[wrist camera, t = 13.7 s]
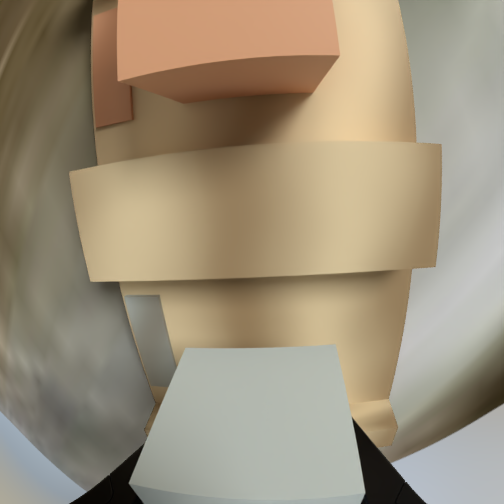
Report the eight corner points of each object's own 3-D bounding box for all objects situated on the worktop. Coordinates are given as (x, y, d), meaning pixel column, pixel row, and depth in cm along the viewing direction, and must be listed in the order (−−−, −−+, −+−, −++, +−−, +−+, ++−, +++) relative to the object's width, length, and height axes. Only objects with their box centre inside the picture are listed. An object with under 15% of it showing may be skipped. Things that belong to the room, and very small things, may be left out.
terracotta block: (313, 92, 10) (340, 55, 5) (183, 103, 10) (117, 81, 6) (300, -16, 8) (310, -96, 4) (178, -3, 9) (124, -68, 4)
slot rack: (373, -55, 8) (391, -89, 5) (379, 405, 15) (391, 445, 12) (106, -25, 9) (73, -49, 6) (167, 409, 17) (152, 447, 14)
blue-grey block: (326, 436, 10) (335, 552, 6) (208, 437, 11) (182, 547, 6) (335, 344, 9) (365, 493, 4) (185, 347, 9) (128, 483, 5)
